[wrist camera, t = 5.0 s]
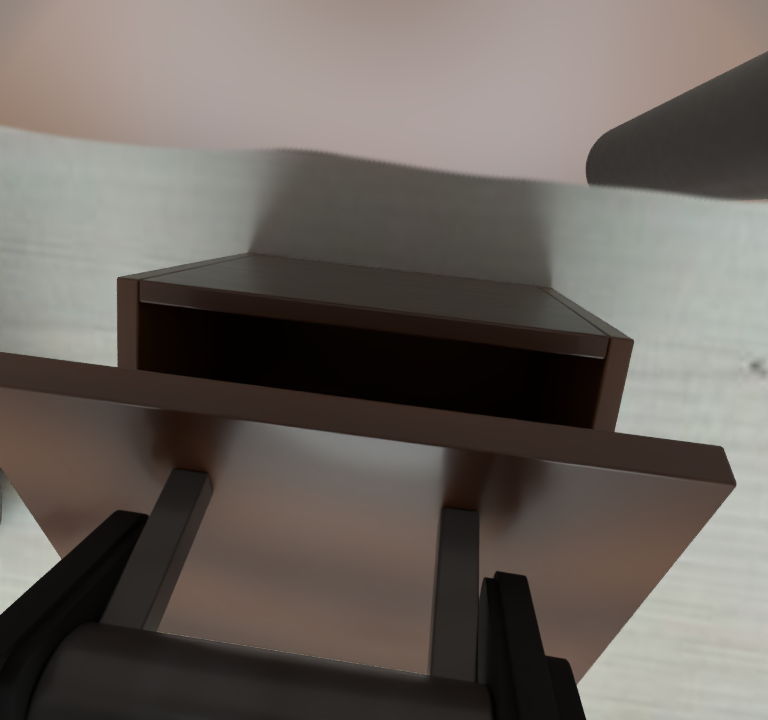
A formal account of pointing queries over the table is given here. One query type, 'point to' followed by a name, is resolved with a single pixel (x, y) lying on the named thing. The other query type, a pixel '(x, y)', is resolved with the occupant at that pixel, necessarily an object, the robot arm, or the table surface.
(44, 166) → the table surface
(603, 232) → the table surface
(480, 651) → the robot arm
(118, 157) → the table surface
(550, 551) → the lid
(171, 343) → the chest
